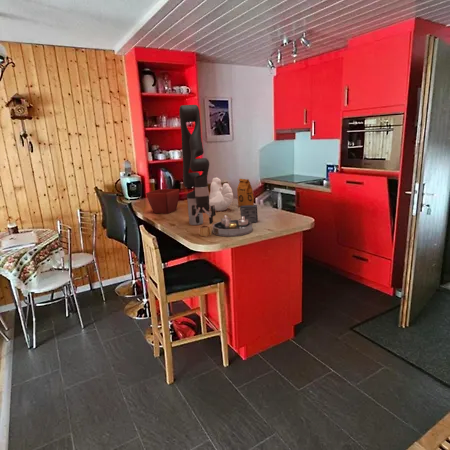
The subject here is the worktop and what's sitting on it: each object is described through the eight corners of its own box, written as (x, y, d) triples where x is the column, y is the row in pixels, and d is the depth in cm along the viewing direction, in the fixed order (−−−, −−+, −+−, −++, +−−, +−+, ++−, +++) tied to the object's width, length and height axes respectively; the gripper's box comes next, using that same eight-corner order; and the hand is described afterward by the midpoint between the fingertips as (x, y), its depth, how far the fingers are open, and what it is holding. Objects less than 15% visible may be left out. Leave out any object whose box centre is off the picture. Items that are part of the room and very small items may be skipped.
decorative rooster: (205, 209, 266) (202, 178, 260) (223, 206, 272) (221, 175, 266) (219, 215, 244) (216, 180, 238) (238, 211, 250) (236, 178, 244)
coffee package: (245, 209, 258) (244, 180, 253) (236, 206, 269) (234, 179, 263) (256, 207, 263) (254, 178, 258) (246, 205, 274) (245, 177, 268)
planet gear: (198, 235, 195) (197, 226, 194) (207, 233, 198) (206, 224, 197) (203, 237, 190) (202, 228, 189) (212, 235, 193) (212, 226, 192)
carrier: (205, 231, 203) (204, 217, 201) (237, 224, 214) (236, 211, 212) (226, 239, 184) (225, 224, 182) (260, 231, 195) (259, 217, 193)
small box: (258, 220, 221) (257, 204, 218) (257, 222, 215) (256, 206, 212) (241, 220, 223) (241, 205, 220) (240, 223, 216) (239, 207, 214)
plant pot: (147, 214, 262) (145, 192, 258) (162, 209, 279) (159, 188, 275) (168, 215, 255) (166, 192, 250) (181, 209, 271) (179, 188, 267)
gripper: (216, 193, 188) (218, 222, 192) (194, 193, 195) (197, 221, 199) (209, 196, 182) (212, 225, 186) (187, 195, 189) (190, 224, 192)
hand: (204, 223), depth 192 cm, fingers open, 8 cm apart
